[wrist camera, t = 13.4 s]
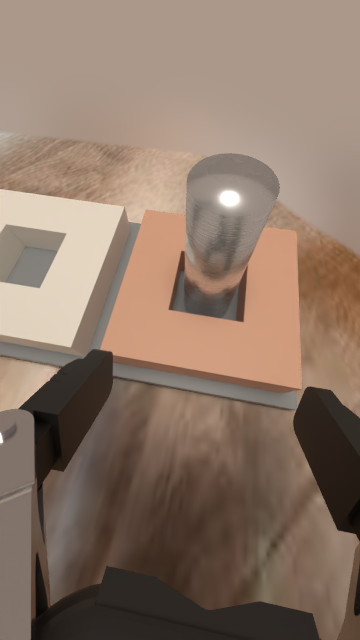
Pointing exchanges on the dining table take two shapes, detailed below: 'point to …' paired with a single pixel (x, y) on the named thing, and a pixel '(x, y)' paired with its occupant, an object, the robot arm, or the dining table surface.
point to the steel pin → (223, 227)
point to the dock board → (144, 301)
